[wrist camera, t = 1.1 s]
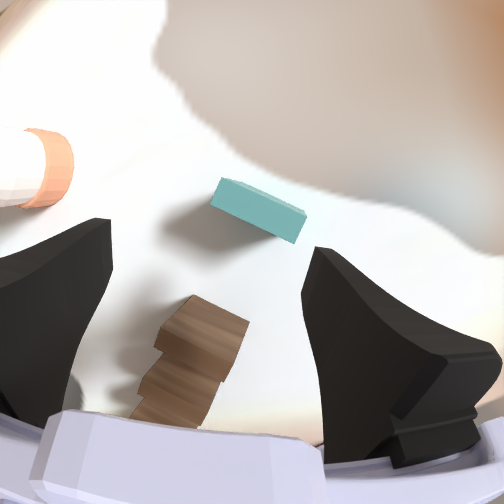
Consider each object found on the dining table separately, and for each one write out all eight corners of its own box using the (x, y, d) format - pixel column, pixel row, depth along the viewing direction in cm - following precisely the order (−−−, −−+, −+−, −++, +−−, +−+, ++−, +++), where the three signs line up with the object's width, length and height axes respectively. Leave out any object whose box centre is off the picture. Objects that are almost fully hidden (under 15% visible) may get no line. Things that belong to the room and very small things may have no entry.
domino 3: (161, 374, 28) (129, 417, 21) (209, 399, 28) (187, 448, 21) (157, 386, 28) (125, 429, 21) (203, 410, 28) (181, 458, 21)
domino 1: (193, 294, 26) (160, 327, 19) (249, 321, 26) (233, 363, 19) (187, 310, 26) (153, 346, 20) (241, 337, 26) (223, 382, 19)
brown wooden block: (176, 338, 27) (142, 378, 20) (228, 363, 27) (208, 412, 20) (170, 351, 27) (137, 393, 20) (221, 377, 27) (200, 426, 20)
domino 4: (242, 182, 24) (221, 177, 17) (304, 210, 24) (307, 216, 17) (233, 201, 24) (209, 204, 17) (294, 230, 24) (294, 244, 17)
